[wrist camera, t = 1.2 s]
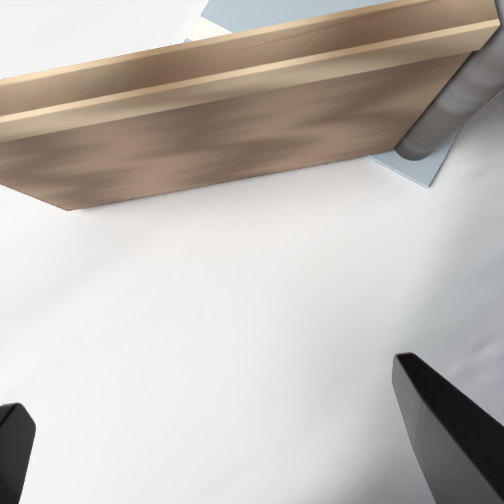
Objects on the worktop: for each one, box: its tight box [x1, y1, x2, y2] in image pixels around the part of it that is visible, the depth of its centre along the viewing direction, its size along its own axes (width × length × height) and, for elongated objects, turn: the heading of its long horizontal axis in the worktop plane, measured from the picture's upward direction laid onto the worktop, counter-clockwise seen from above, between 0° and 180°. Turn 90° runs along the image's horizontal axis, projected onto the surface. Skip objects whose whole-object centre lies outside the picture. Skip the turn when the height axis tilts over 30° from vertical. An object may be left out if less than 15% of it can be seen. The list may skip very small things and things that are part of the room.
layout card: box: [183, 0, 463, 188], centre depth 24 cm, size 17×17×1 cm
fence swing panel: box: [0, 0, 500, 211], centre depth 18 cm, size 19×1×11 cm, turn 100°
